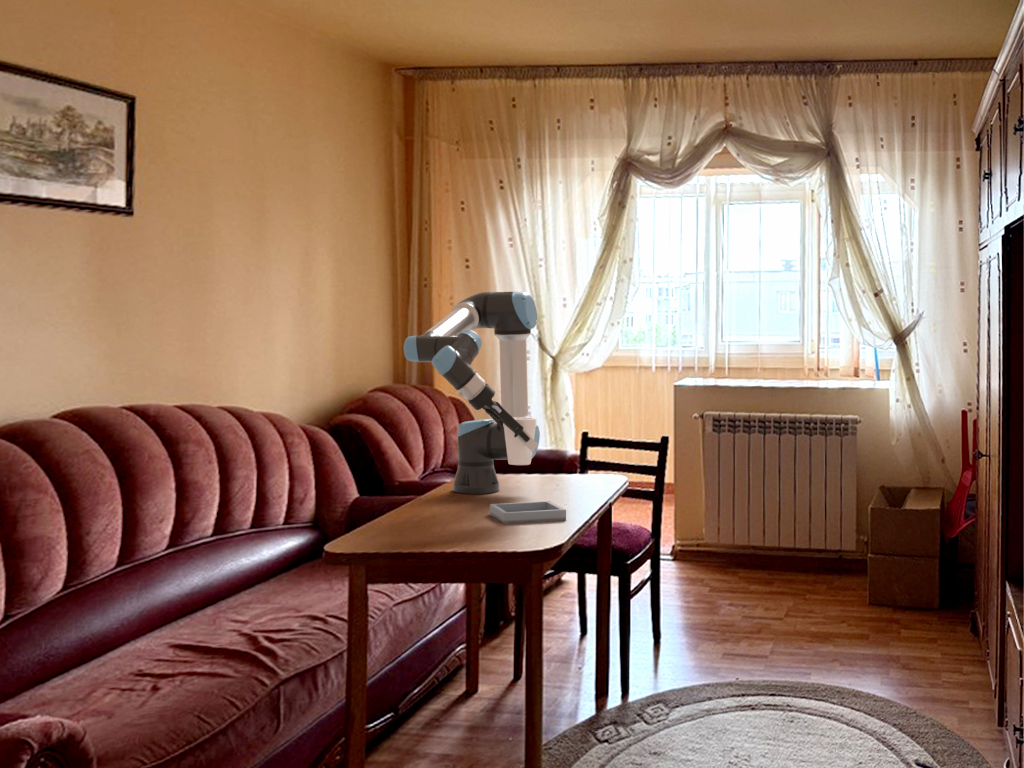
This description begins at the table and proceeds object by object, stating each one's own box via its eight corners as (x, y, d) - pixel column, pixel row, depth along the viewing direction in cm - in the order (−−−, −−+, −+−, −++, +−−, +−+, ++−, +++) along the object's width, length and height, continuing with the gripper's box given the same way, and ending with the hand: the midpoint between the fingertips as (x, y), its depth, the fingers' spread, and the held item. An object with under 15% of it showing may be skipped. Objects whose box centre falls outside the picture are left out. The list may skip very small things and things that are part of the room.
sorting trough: (489, 514, 328) (489, 504, 328) (549, 511, 333) (549, 501, 333) (504, 524, 313) (504, 513, 313) (566, 520, 318) (566, 509, 318)
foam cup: (531, 466, 319) (532, 420, 318) (499, 465, 321) (500, 419, 321) (538, 462, 328) (539, 417, 328) (507, 461, 330) (507, 416, 330)
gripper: (459, 398, 331) (511, 451, 335) (476, 403, 309) (532, 460, 314) (476, 380, 332) (528, 433, 337) (495, 384, 310) (550, 440, 315)
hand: (530, 446), depth 325 cm, fingers closed on foam cup, 9 cm apart
